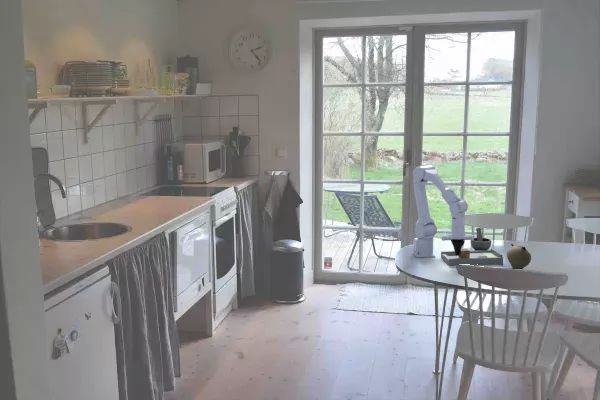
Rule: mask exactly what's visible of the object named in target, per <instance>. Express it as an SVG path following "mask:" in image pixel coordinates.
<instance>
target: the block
mask: <svg viewBox="0 0 600 400" xmlns="http://www.w3.org/2000/svg"><path fill="white" fill-rule="evenodd" d="M470 251H471V250H470V249H468V248H461V250H460V254H459V256H458V257H459V258H470Z"/></svg>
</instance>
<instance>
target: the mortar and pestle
mask: <svg viewBox="0 0 600 400" xmlns="http://www.w3.org/2000/svg"><path fill="white" fill-rule="evenodd" d="M475 231H476V237H474V240H470V245H471V248H472V249H473V251H481V250H489V249H491V247H492V239H490V238H487V237H483V233H482V227H476V229H475Z"/></svg>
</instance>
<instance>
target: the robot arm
mask: <svg viewBox="0 0 600 400" xmlns="http://www.w3.org/2000/svg"><path fill="white" fill-rule="evenodd" d="M438 172H439V171H438V170H437V169H436V167H435V166H434V165H432V164H429V165H422V166H421V165H420V166H416V167H415V168H414V169H413V171H412V177H413V180H412V185H413V191H414V198H415V203H416V210H417V217H418V219H417V221H416V222H415V223H414V224H415V229H414V234H415V236H416V237H414V238H413V241H412V254H413V255H414V256H415V257H416V258H433V257H435V258H436V255H435V254H434V238H435V235H436V234H437V231H438V228H437V226H436V222H435V220H434V219H433V218H432V217H431V215H430V209H429V208H430V207H429V203H428V195H427V190H426V185H427V184H428V182H431V183H432V184H433V185H434V186H435V187H436V188H437V189H438V190H439V191H440V192H441V198H442V199H443V200H444V201H445V203H446V204H447V205H448V206H449V207H448V209H449V211H450V215H451V230H450V231H451V233H450V234H448V235H447V234H446V235H441V241H442V242H444V241H451V242H450V243H451V244H452V246H453V251H455V255H456V256H459V254H460V250H461V249H463V248H462V247H463V246H464V244H465V241H471V240H474V238H475V237H474V235H473V234H465V224H466V223H465V222H466V221H465V220H466V219H465V218H466V217H465V216H466V214H465V213H467V211H468V208H469V207H468V203H467V202H466V200H464V199H461V198H460V197H459V196H458V195H457V194H456V192H455V190H454V189H452V188H450V187H448V186H447V185H446V184H445V182H444V180H443V179H442V178H441V177H440V175H439V173H438Z"/></svg>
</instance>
